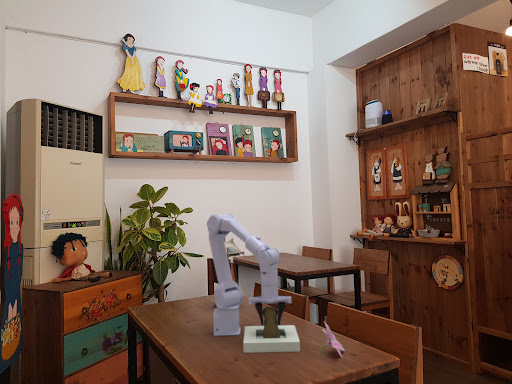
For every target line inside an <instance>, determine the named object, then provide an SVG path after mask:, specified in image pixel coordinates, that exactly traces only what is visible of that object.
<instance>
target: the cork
mask: <svg viewBox="0 0 512 384" xmlns="http://www.w3.org/2000/svg"><path fill="white" fill-rule="evenodd" d="M262 312H263V326H264V333H263V339H264V338H280V334H279V329H278V326H279V325H278V307H275V306H266V307H264V308H262Z"/></svg>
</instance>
